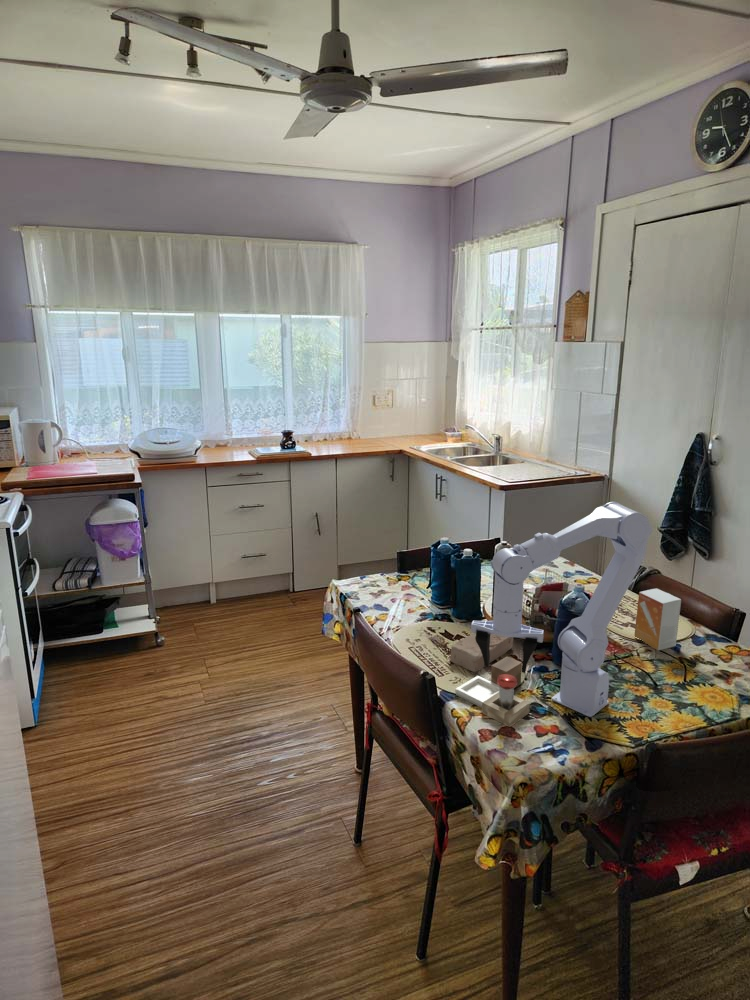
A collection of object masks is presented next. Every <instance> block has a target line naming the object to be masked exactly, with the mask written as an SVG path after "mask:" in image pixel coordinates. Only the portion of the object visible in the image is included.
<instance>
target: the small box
mask: <svg viewBox="0 0 750 1000" xmlns="http://www.w3.org/2000/svg"><path fill="white" fill-rule="evenodd" d="M681 604H682V599H681V598H679V597H677V596H674V595H673V594H671V593H669V592H666V591H664V590H661V589H660V588H650V589H647V590H643V591H639V592H638V599H637V608H636V618H635V627H634V636H635V637H637V638H639V639H641V640H643V641H644V642H645V643H644V642H643V643H644V644H646V645H647V644H648V645H647V646H649V647H651V648H653V649H654V650H656V651H658V652H659V651H662V650H665V649H670V648H674V647H676V645H677V638H678V630H679V622H680V621H679V620H680V612H681V607H682V605H681ZM635 637H634V638H635ZM637 638H636V639H637Z"/></svg>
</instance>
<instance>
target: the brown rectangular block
mask: <svg viewBox="0 0 750 1000" xmlns="http://www.w3.org/2000/svg"><path fill="white" fill-rule="evenodd" d="M522 664H523V661H519V660H517V659H515V658H512V657H510V656H506V657H504V658H502V659H499V661H497V662H495V663H493V664H492V665H491V667H490V668H491V670H490V671H491V672H490V674H491V675H490V681H491V682H493V683H495V684H497V678H498V676H499V675H503V674H508V675H512V676H514V677H516V679H517V685H518V684H520V683H521V682H522ZM497 685H498V684H497Z"/></svg>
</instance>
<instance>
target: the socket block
mask: <svg viewBox="0 0 750 1000" xmlns="http://www.w3.org/2000/svg"><path fill="white" fill-rule="evenodd" d="M530 703H531V702H529V701H527V700H525V699H523V698H520V697H518V696H515V695H514V700H513V708H512V709H510V710H509V711H508V710H506V709H504V708H502V707H500V706H499V692H498V693H497V694H495V695H493V696H492V697H490V698H489V699H487V700H486V701H484V702H482V708H481V714H482V715H485V716H487V717H489V718H491V719H493V720H495V721H497V722H499V723H501V724H503V725H505V726H507V727H508V728H511V727H512V726H513V725H515V724H516V723H517V722H519V721H520V720H521V719H524V718H525V717H526V716H527V715H529V714H530V707H531V706H530Z"/></svg>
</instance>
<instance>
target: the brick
mask: <svg viewBox="0 0 750 1000" xmlns="http://www.w3.org/2000/svg"><path fill="white" fill-rule="evenodd" d="M475 637H476V633H471V634H470V635H468V636H465V637H463V638H462V639H460V640H458V641H457V642H455V643H454V644H452V645H451V647H450V648H451V649H450V655H449V661H450V662H451V663H453V664H455V665H458V666H460V667H462V668H464V669H466V670H468V671H471V672H478V671H479V670H482V669H483V668H485V666H484V659H483V656H482V653H481V650H480V648H479V646H478V644H477V642H476V639H475ZM513 645H514V637H503V636H499V635H495V634H490V646H489V649H490V661H489V664H491V663H492V662H493V661H495V660H497V659H498V658H500V657H502V656H503V655H505V654H506V653H508V652H509V651H510V650H511V649H512V647H513Z"/></svg>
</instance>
